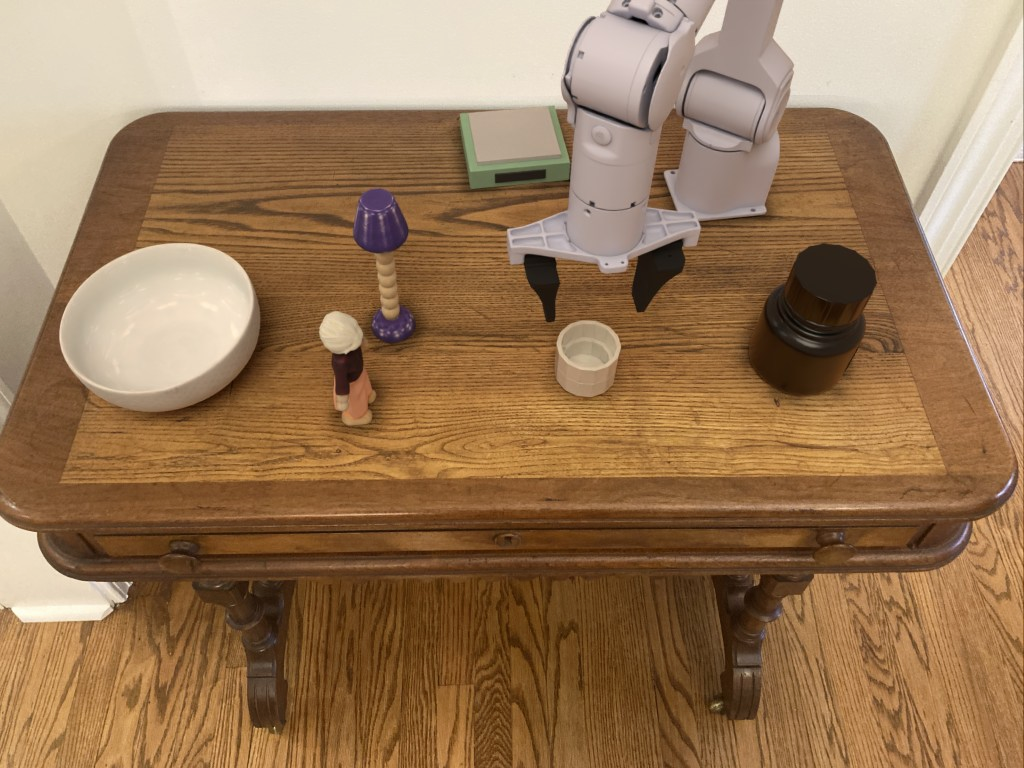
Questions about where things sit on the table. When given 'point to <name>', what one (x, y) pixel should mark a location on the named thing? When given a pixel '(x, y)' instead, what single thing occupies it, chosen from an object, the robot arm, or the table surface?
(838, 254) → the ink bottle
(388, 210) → the toy lamp
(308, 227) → the table surface
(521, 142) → the scale
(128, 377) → the cereal bowl
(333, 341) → the grandmother figurine
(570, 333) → the white cup
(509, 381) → the table surface
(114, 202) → the table surface
